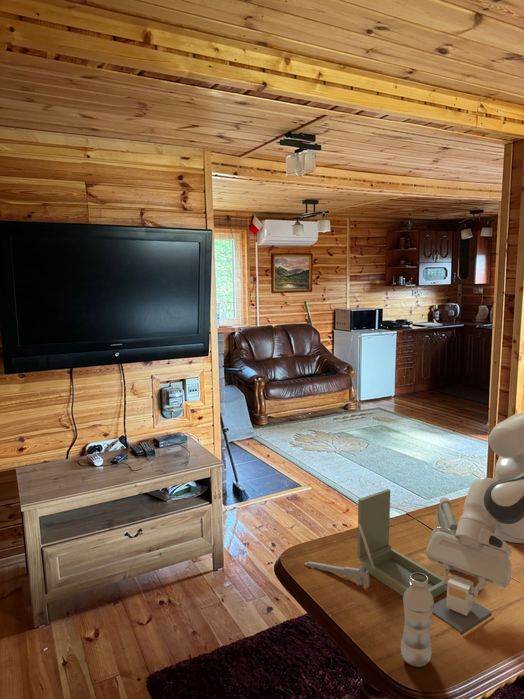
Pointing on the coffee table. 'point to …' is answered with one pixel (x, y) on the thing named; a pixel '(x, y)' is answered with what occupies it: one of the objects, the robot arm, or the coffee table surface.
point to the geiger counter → (446, 517)
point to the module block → (459, 594)
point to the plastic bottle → (417, 621)
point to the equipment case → (387, 548)
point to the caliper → (344, 571)
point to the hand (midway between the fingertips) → (459, 589)
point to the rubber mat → (461, 616)
